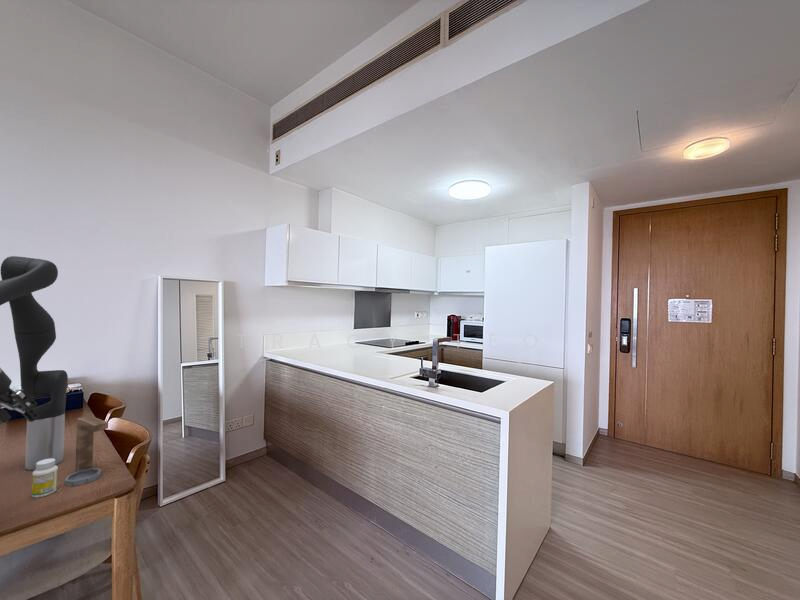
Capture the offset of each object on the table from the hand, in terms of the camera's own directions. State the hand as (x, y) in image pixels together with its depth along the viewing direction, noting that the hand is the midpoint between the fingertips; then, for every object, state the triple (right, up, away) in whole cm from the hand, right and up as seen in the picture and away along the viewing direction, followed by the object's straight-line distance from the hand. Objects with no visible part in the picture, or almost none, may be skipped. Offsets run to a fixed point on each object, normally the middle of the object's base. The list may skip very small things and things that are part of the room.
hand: (20, 419), depth 93 cm
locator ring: (+3, -25, +15) cm, 29 cm away
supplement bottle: (-1, -25, +7) cm, 26 cm away
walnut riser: (+2, -25, +18) cm, 31 cm away
